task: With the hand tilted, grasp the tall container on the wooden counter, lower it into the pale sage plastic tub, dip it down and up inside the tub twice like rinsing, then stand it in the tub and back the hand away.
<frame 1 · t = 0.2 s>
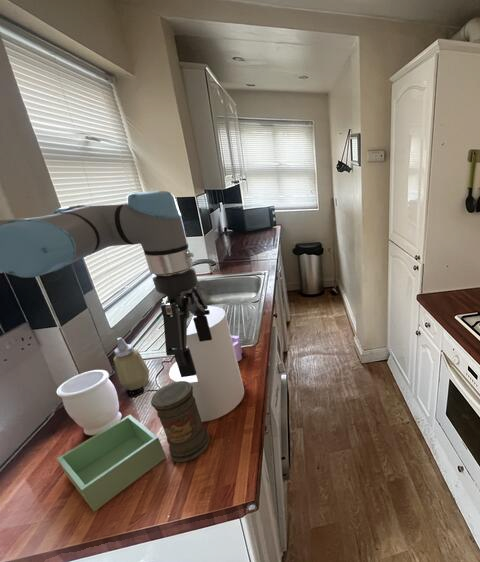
hand: (198, 356, 71), 27 cm above the worktop, tool pointing down, fingers open, 13 cm apart
clip: (213, 361, 113), on the worktop
squeeze bottle: (138, 384, 102), on the worktop
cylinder: (214, 400, 95), on the worktop
container: (191, 448, 79), on the worktop
tub: (119, 467, 74), on the worktop
jar: (103, 424, 87), on the worktop
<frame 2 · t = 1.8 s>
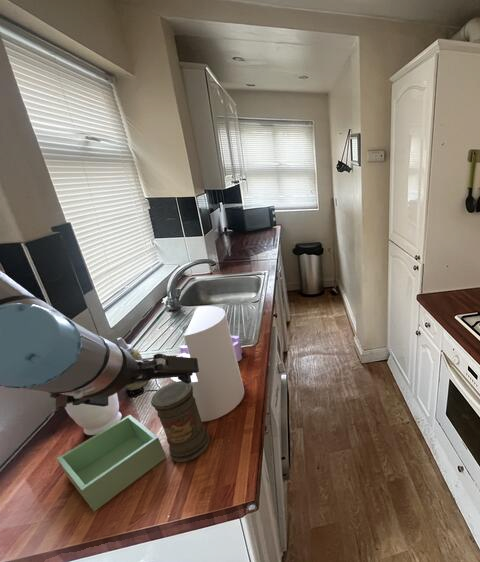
hand: (149, 387, 60), 28 cm above the worktop, tool tilted 45°, fingers open, 13 cm apart
nothing on the worktop moved.
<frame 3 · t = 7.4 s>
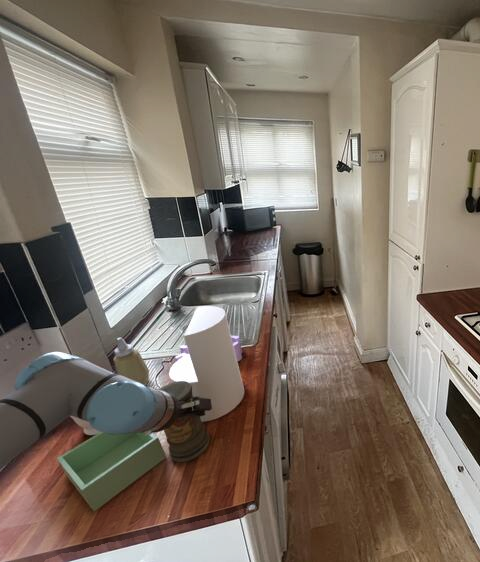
hand: (184, 415, 79), 8 cm above the worktop, tool tilted 45°, fingers closed on container, 8 cm apart
container: (191, 447, 79), on the worktop, touching gripper
everything else where it was.
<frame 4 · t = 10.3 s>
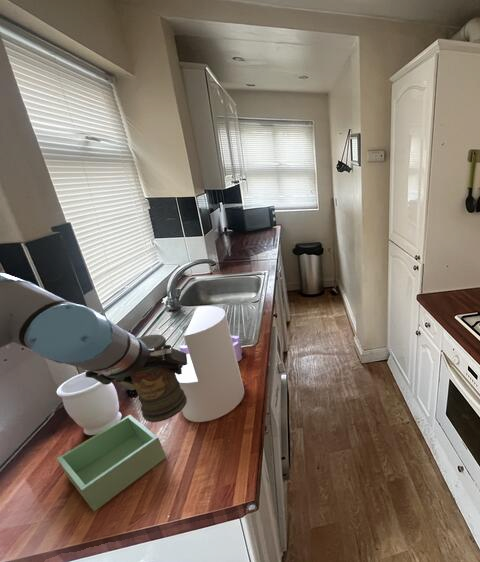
hand: (159, 373, 73), 22 cm above the worktop, tool tilted 45°, fingers closed on container, 8 cm apart
container: (166, 408, 73), point 14 cm above the worktop, touching gripper
everything else where it was.
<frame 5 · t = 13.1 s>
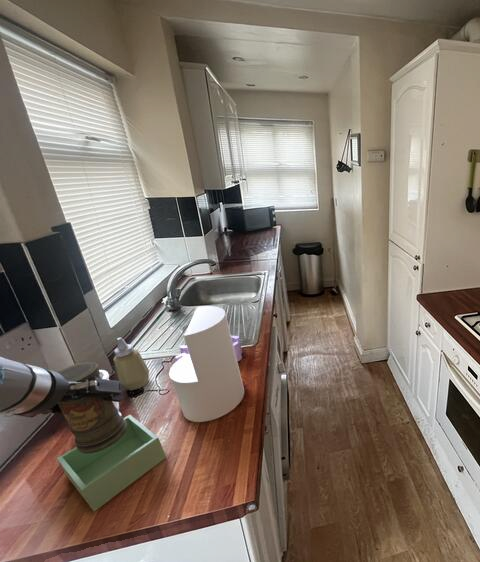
hand: (96, 401, 70), 18 cm above the worktop, tool tilted 45°, fingers closed on container, 8 cm apart
container: (104, 437, 70), point 10 cm above the worktop, touching gripper
everything else where it was.
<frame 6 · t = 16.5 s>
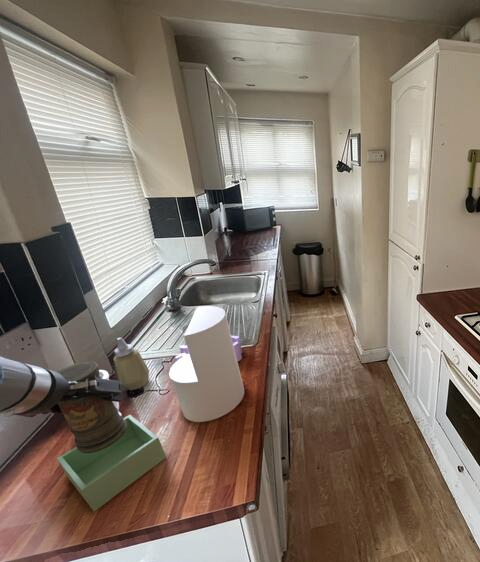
hand: (96, 401, 70), 18 cm above the worktop, tool tilted 45°, fingers closed on container, 8 cm apart
container: (103, 437, 70), point 10 cm above the worktop, touching gripper
everything else where it was.
when the fingers open (8 cm above the worktop, at t = 19.2 s): container stays where it is, resting on tub.
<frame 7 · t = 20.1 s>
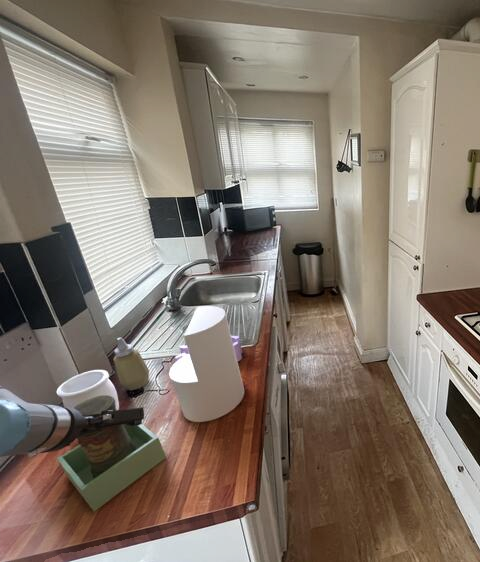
hand: (105, 428, 72), 11 cm above the worktop, tool tilted 45°, fingers open, 13 cm apart
container: (118, 466, 74), point 1 cm above the worktop, touching tub
everything else where it was.
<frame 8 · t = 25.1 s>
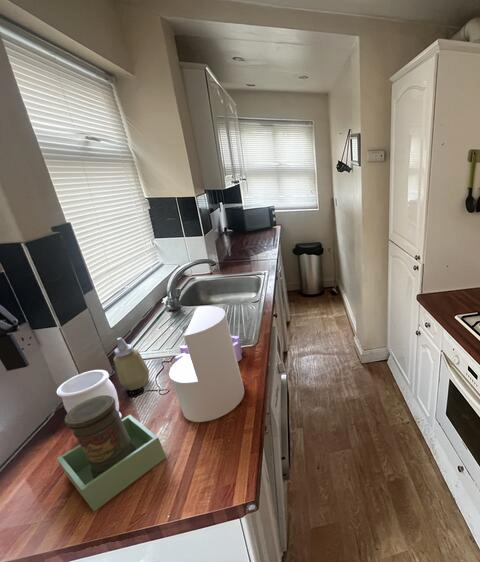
nothing on the worktop moved.
at the end: container inside the target area in the tub (0.1 cm from its centre), point 0.6 cm above the tub's base; container tilted 0°; the gripper is holding nothing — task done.
